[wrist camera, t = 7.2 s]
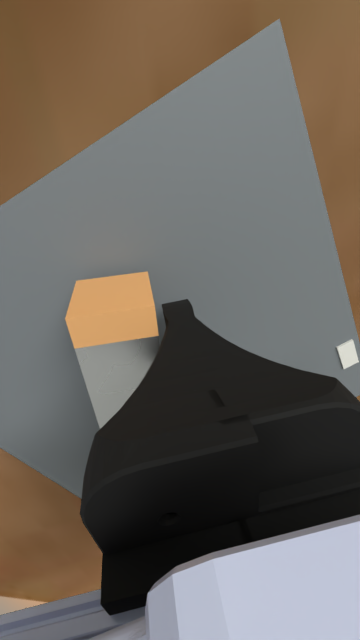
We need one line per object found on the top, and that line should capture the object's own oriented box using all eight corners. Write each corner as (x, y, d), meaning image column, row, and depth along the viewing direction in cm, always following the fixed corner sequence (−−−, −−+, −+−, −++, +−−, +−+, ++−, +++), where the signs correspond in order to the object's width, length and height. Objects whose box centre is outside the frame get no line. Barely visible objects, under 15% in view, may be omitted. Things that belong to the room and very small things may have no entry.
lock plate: (110, 492, 20) (107, 616, 15) (-152, 309, 11) (-377, 453, 6) (353, 371, 18) (447, 467, 13) (257, 34, 9) (429, -91, 4)
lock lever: (185, 472, 17) (197, 535, 14) (121, 485, 17) (121, 552, 14) (164, 267, 11) (179, 311, 8) (58, 280, 10) (37, 332, 8)
